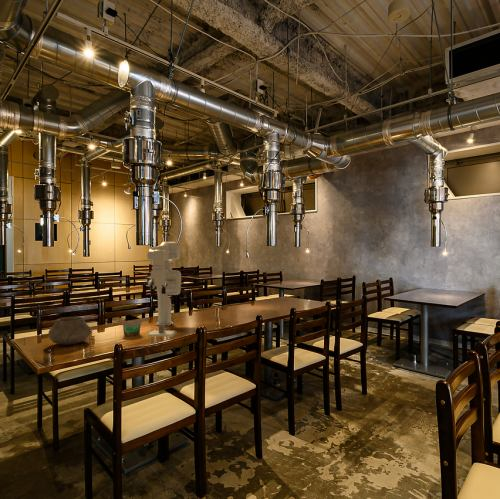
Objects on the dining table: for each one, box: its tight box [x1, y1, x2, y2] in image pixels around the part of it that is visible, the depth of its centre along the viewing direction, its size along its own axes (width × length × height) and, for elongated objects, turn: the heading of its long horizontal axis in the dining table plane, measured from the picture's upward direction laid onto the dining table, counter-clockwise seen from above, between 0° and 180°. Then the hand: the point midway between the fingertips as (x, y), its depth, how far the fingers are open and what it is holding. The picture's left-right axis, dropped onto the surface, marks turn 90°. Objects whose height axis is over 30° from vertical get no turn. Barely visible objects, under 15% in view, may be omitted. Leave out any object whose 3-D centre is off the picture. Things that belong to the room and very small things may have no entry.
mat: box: [146, 331, 177, 338], centre depth 215 cm, size 13×17×1 cm
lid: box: [147, 324, 176, 337], centre depth 215 cm, size 10×15×6 cm, turn 88°
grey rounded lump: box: [47, 316, 92, 346], centre depth 195 cm, size 22×21×15 cm
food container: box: [121, 319, 142, 337], centre depth 211 cm, size 12×6×10 cm, turn 105°
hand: (158, 294), depth 218 cm, fingers open, 9 cm apart
